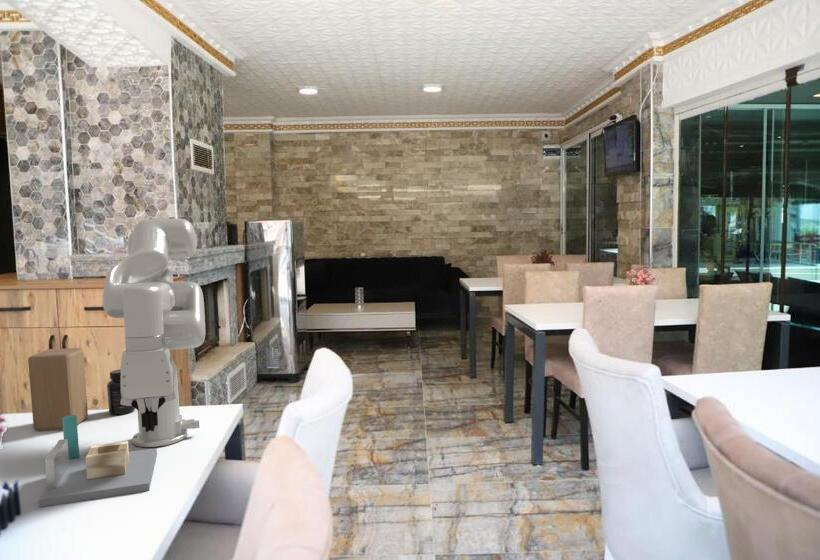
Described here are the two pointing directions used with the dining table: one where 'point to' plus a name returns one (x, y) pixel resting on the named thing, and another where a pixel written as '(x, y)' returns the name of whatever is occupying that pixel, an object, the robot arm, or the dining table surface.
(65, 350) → the wooden block
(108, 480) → the base board
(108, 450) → the birch block
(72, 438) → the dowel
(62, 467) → the backstop wall
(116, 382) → the supplement bottle
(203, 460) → the dining table surface
